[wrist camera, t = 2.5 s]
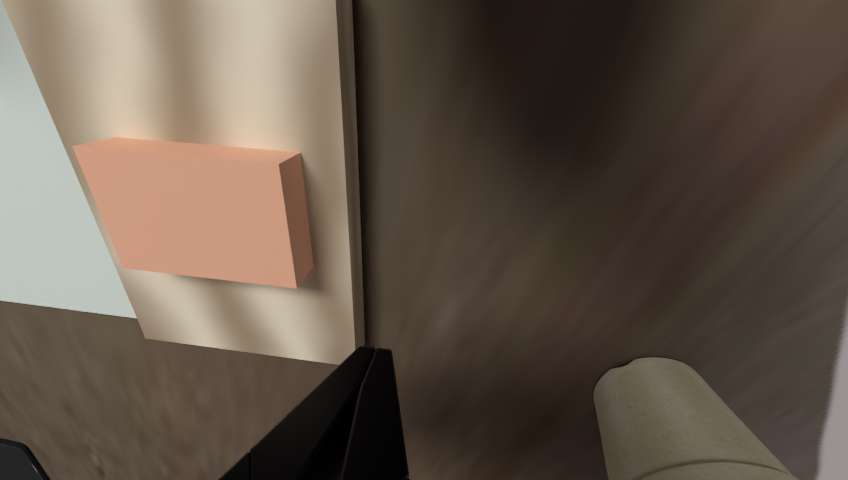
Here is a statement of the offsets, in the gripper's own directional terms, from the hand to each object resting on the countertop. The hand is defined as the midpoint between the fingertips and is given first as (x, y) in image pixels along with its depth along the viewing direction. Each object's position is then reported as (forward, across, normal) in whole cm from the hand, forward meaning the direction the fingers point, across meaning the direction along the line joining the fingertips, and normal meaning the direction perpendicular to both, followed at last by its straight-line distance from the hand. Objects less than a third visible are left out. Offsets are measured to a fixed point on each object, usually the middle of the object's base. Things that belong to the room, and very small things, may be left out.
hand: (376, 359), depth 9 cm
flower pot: (+11, -14, +11) cm, 21 cm away
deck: (+10, +10, 0) cm, 15 cm away
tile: (+8, +10, 0) cm, 13 cm away
